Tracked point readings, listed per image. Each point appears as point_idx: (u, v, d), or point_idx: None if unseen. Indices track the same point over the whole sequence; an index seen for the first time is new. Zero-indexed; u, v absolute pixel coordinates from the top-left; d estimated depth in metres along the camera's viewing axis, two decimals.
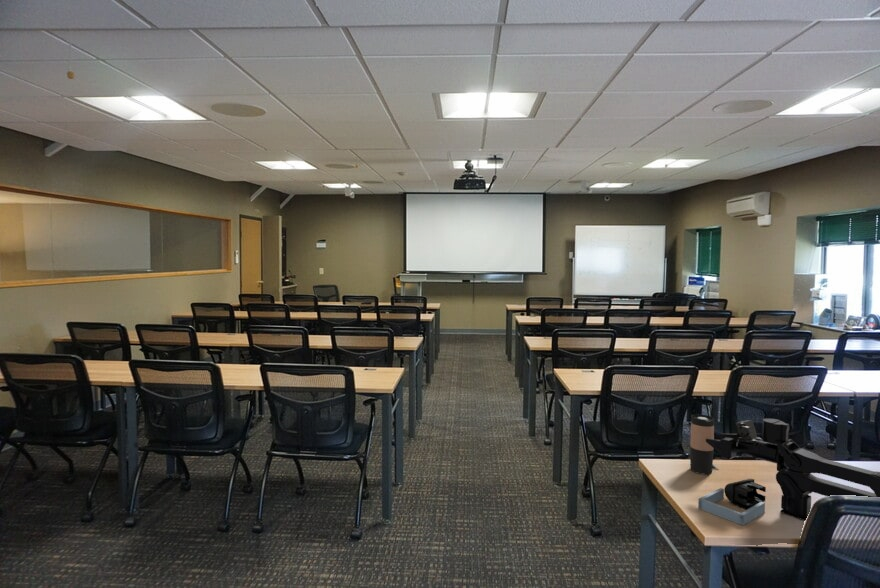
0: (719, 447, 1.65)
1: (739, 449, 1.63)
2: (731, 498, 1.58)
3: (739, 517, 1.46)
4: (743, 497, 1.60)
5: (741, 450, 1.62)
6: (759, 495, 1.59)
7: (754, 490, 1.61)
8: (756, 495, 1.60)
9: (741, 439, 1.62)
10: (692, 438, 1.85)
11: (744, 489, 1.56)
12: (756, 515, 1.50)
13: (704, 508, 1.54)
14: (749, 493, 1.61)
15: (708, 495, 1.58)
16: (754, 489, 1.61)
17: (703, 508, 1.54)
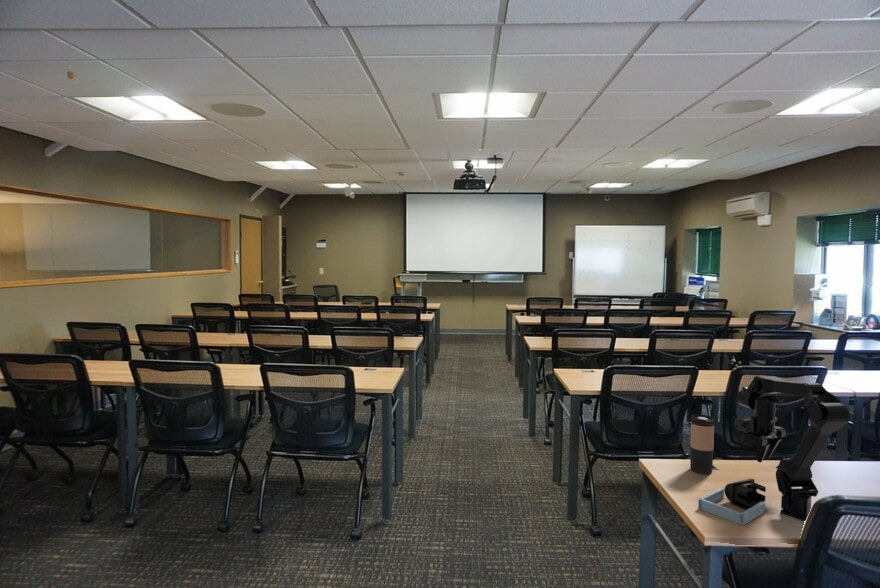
0: (761, 448, 1.63)
1: (763, 433, 1.64)
2: (731, 498, 1.58)
3: (739, 517, 1.46)
4: (743, 497, 1.60)
5: (763, 431, 1.64)
6: (759, 495, 1.59)
7: (754, 490, 1.61)
8: (756, 495, 1.60)
9: (751, 428, 1.67)
10: (692, 438, 1.85)
11: (744, 489, 1.56)
12: (756, 515, 1.50)
13: (704, 508, 1.54)
14: (749, 493, 1.61)
15: (708, 495, 1.58)
16: (754, 489, 1.61)
17: (703, 508, 1.54)
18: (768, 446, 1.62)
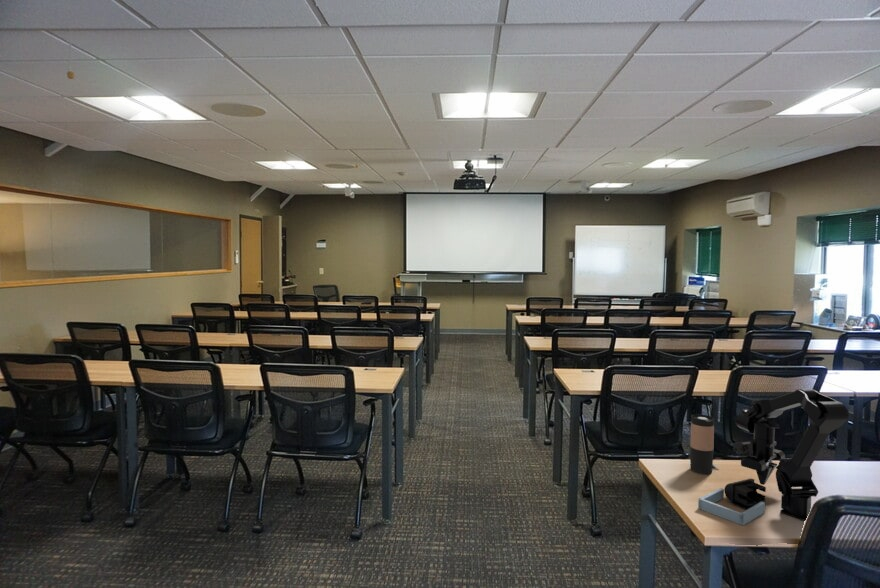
0: (763, 471, 1.65)
1: (762, 457, 1.64)
2: (731, 498, 1.58)
3: (739, 517, 1.46)
4: (743, 497, 1.60)
5: (763, 455, 1.64)
6: (759, 495, 1.59)
7: (754, 490, 1.61)
8: (756, 495, 1.60)
9: (750, 452, 1.67)
10: (692, 438, 1.85)
11: (744, 489, 1.56)
12: (756, 515, 1.50)
13: (704, 508, 1.54)
14: (749, 493, 1.61)
15: (708, 495, 1.58)
16: (754, 489, 1.61)
17: (703, 508, 1.54)
18: (771, 469, 1.64)
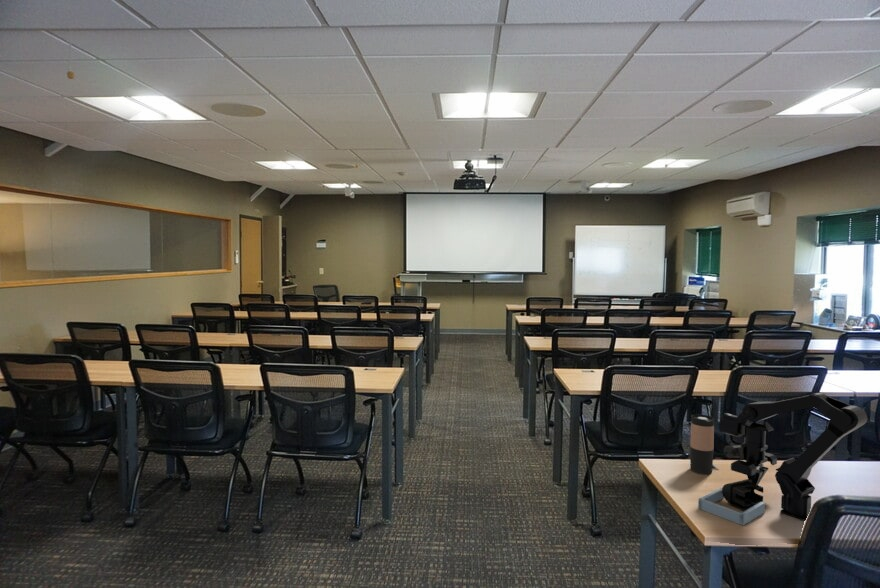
0: (754, 475, 1.61)
1: (752, 461, 1.60)
2: (728, 498, 1.58)
3: (739, 517, 1.46)
4: (741, 497, 1.59)
5: (753, 459, 1.60)
6: (757, 496, 1.59)
7: (752, 490, 1.60)
8: (754, 496, 1.60)
9: (741, 456, 1.63)
10: (692, 438, 1.85)
11: (741, 489, 1.55)
12: (756, 515, 1.50)
13: (704, 508, 1.54)
14: (747, 493, 1.60)
15: (708, 495, 1.58)
16: (752, 489, 1.60)
17: (703, 508, 1.54)
18: (761, 473, 1.60)
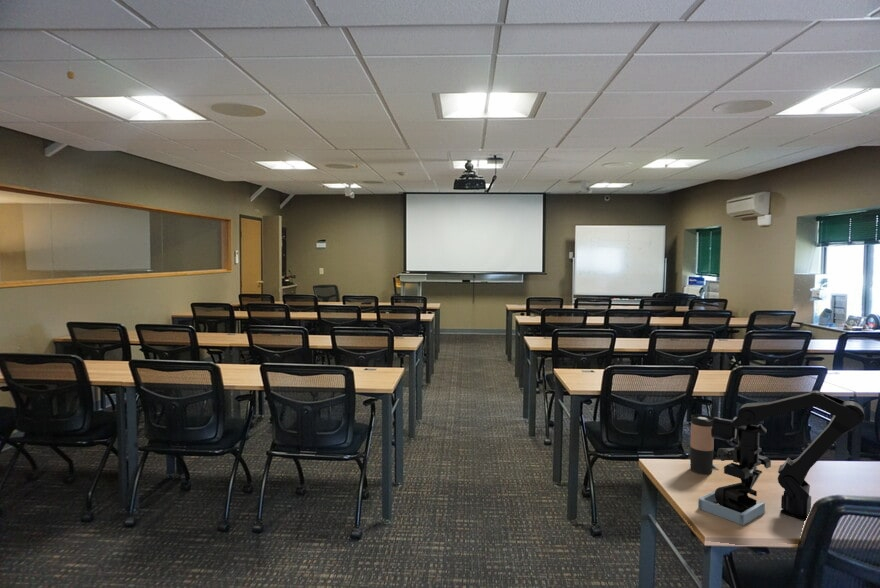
0: (748, 478, 1.59)
1: (746, 464, 1.58)
2: (721, 502, 1.55)
3: (739, 517, 1.46)
4: (734, 501, 1.56)
5: (747, 462, 1.58)
6: (750, 499, 1.56)
7: (745, 494, 1.58)
8: (747, 499, 1.57)
9: (734, 459, 1.60)
10: (692, 438, 1.85)
11: (734, 493, 1.52)
12: (756, 515, 1.50)
13: (704, 508, 1.54)
14: (740, 497, 1.58)
15: (708, 495, 1.58)
16: (745, 493, 1.58)
17: (703, 508, 1.54)
18: (755, 476, 1.57)
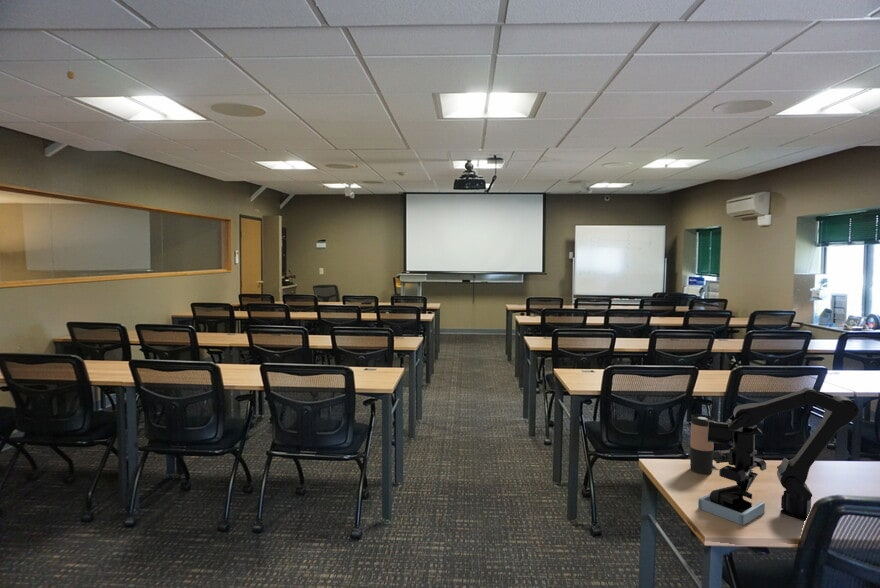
0: (743, 481, 1.57)
1: (741, 467, 1.56)
2: None
3: (739, 517, 1.46)
4: (729, 504, 1.54)
5: (742, 465, 1.56)
6: (745, 502, 1.54)
7: (740, 497, 1.56)
8: (742, 502, 1.55)
9: (729, 461, 1.58)
10: (692, 438, 1.85)
11: (729, 496, 1.50)
12: (756, 515, 1.50)
13: (704, 508, 1.54)
14: (735, 500, 1.56)
15: (708, 495, 1.58)
16: (740, 496, 1.56)
17: (703, 508, 1.54)
18: (751, 479, 1.55)
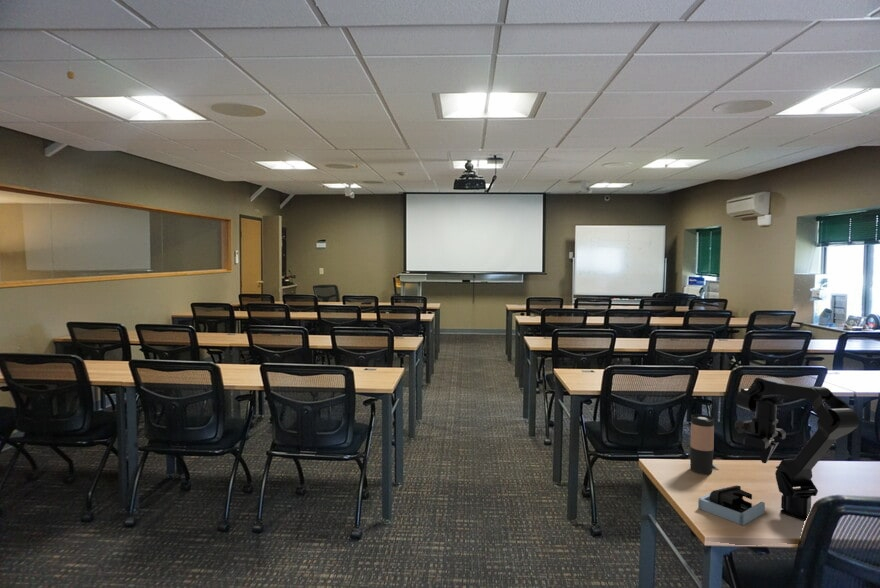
0: (765, 449, 1.63)
1: (764, 435, 1.62)
2: None
3: (739, 517, 1.46)
4: (729, 505, 1.54)
5: (765, 433, 1.62)
6: (745, 502, 1.54)
7: (740, 497, 1.56)
8: (742, 502, 1.55)
9: (752, 430, 1.64)
10: (692, 438, 1.85)
11: (729, 496, 1.50)
12: (756, 515, 1.50)
13: (704, 508, 1.54)
14: (735, 500, 1.56)
15: (708, 495, 1.58)
16: (740, 496, 1.56)
17: (703, 508, 1.54)
18: (773, 447, 1.61)
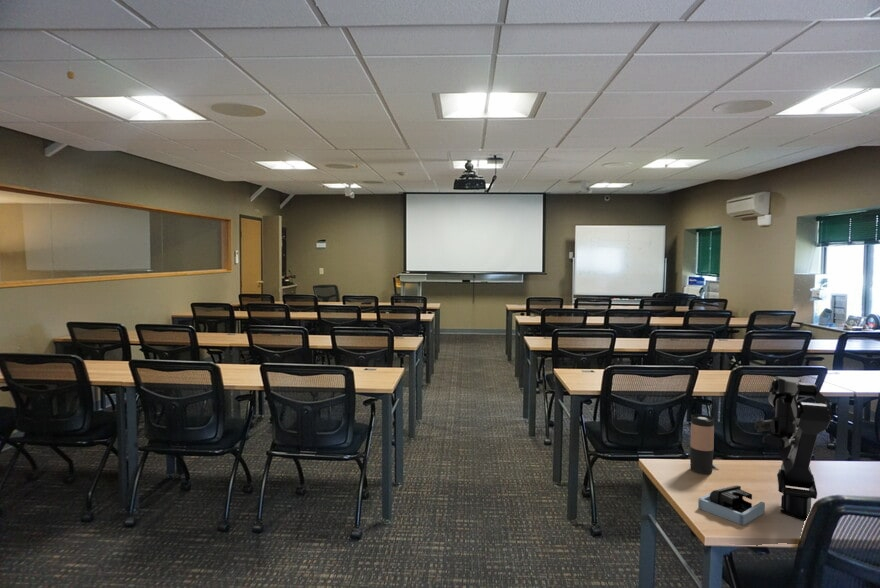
0: (785, 448, 1.64)
1: (784, 434, 1.63)
2: None
3: (739, 517, 1.46)
4: (729, 505, 1.54)
5: (785, 432, 1.63)
6: (745, 503, 1.54)
7: (740, 497, 1.56)
8: (742, 502, 1.55)
9: (772, 429, 1.65)
10: (692, 438, 1.85)
11: (729, 496, 1.50)
12: (756, 515, 1.50)
13: (704, 508, 1.54)
14: (735, 500, 1.56)
15: (708, 495, 1.58)
16: (740, 496, 1.56)
17: (703, 508, 1.54)
18: (793, 446, 1.62)
